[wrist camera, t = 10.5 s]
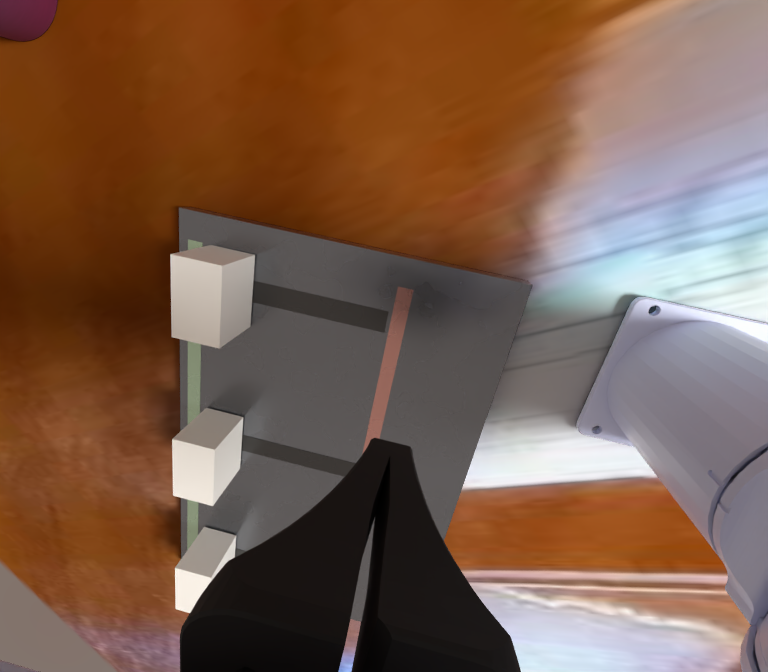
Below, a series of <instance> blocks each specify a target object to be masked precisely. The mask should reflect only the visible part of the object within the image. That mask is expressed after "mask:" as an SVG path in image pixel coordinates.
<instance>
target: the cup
mask: <svg viewBox="0 0 768 672" xmlns="http://www.w3.org/2000/svg"><path fill="white" fill-rule="evenodd" d="M57 1H58V0H0V36H1V37H5V38H8V39H12V40H15V41H29V40H34V39H36V38H38V37H39V36H41V35H42V34H43V33H44V32H45V31H46V30H47V29H48V28H49V26H50V25H51V23H52V21H53V18H54V15H55V12H56V8H57Z"/></svg>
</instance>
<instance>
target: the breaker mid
mask: <svg viewBox="0 0 768 672" xmlns="http://www.w3.org/2000/svg"><path fill="white" fill-rule="evenodd" d="M242 431H243V417H241V416H237V415H233V414H229V413H225V412H221V411H217V410H213V409H209V408H205V409H204V410H203V411H202V412H201V413H200V414H199V415H198V416H197V417H196V418H194V419H193V420H192V421H191V422H190V423H189V424H188V425H187V426H186V427H185V428H184V429H183V430H181V431H180V432H179V433H178V434H177V435H176V436H175V437H174V438H173V439H172V456H173V496H176V497H180V498H184V499H188V500H191V501H195V502H199V503H203V504H207V505H210V506H213V505H214V504H215V502H216V501H217V500H218V498H219V497H220V496H221V494H222V493H223V491H224V490H225V489H226V487H227V486H228V485H229V483H230V482H231V480H232V479H233V478H234V476H235V475H236V473H237V472H238V471H239V469H240V461H241V446H242Z"/></svg>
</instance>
